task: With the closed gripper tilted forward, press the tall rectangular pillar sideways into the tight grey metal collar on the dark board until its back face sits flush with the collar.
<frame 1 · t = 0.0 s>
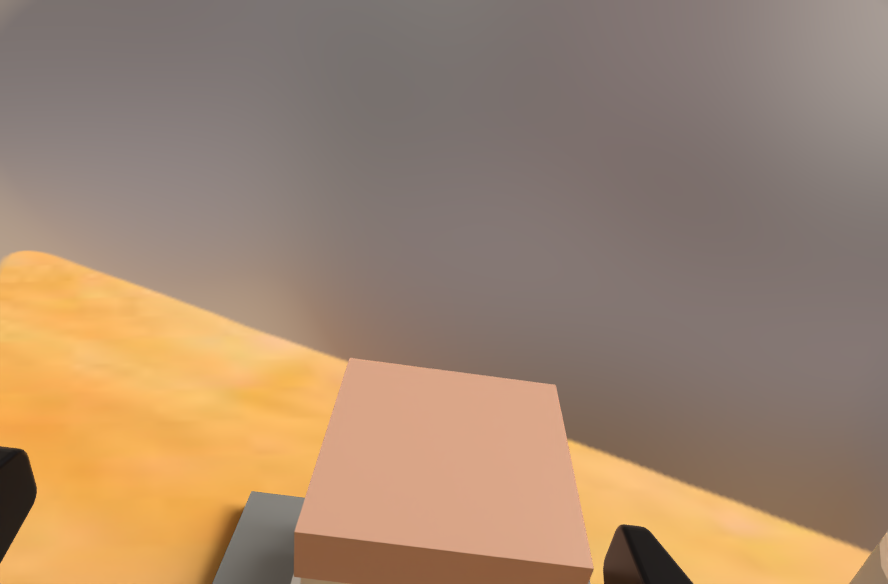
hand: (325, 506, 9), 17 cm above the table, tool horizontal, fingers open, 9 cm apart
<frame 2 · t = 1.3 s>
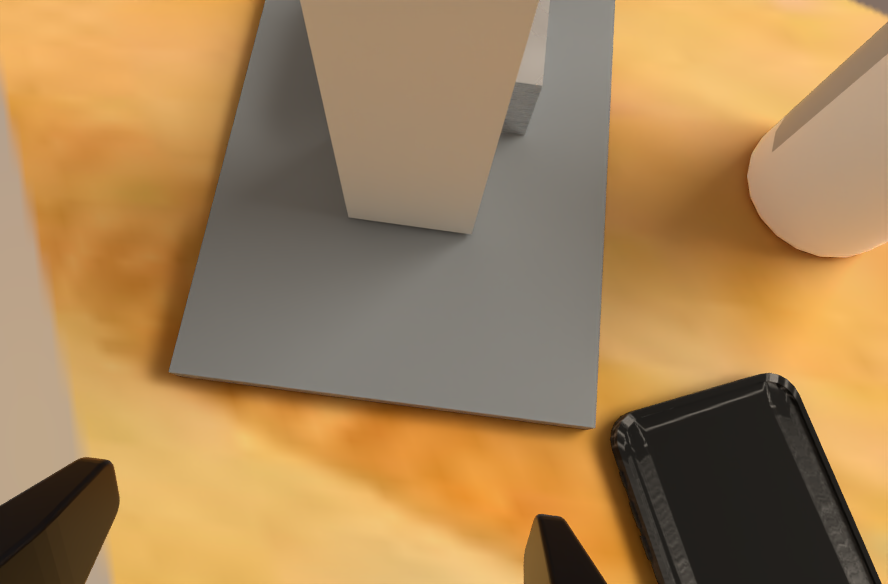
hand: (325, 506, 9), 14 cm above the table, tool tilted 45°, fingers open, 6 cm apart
base board: (419, 173, 26), on the table
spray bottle: (813, 192, 27), on the table
tall rectangular pillar: (423, 59, 18), point 8 cm above the table, slide at 0.0 cm
friction collar: (432, 86, 27), resting on base board
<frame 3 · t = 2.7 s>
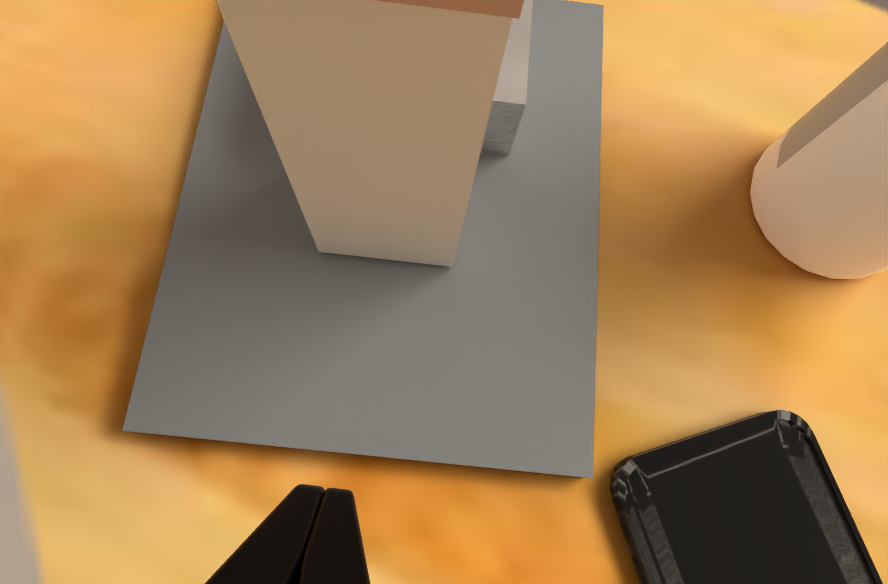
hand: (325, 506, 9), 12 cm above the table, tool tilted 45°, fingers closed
base board: (396, 199, 24), on the table
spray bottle: (821, 208, 25), on the table
tall rectangular pillar: (389, 84, 16), point 8 cm above the table, slide at 0.0 cm
friction collar: (408, 104, 25), resting on base board
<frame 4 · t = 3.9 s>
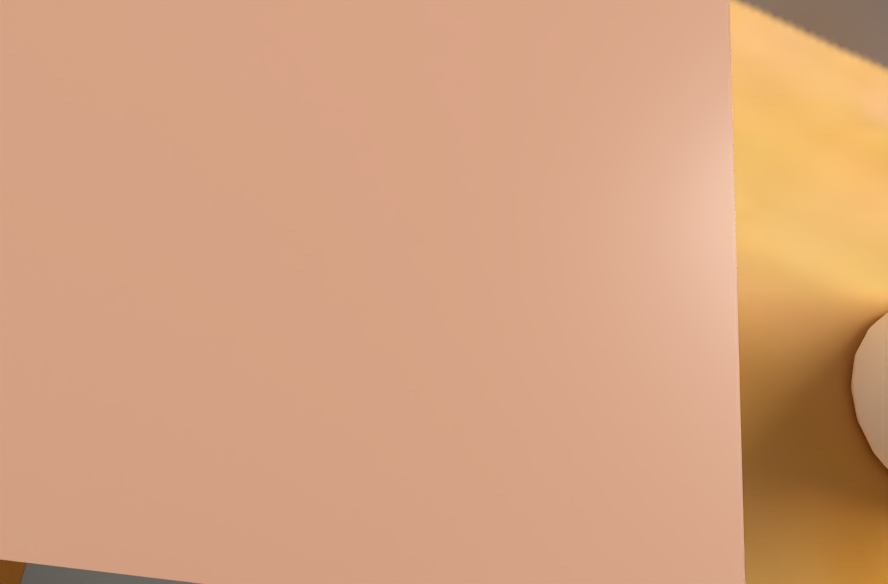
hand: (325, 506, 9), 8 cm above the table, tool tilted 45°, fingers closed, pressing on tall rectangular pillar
base board: (376, 395, 18), on the table
tall rectangular pillar: (354, 329, 10), point 8 cm above the table, slide at 0.6 cm, touching gripper
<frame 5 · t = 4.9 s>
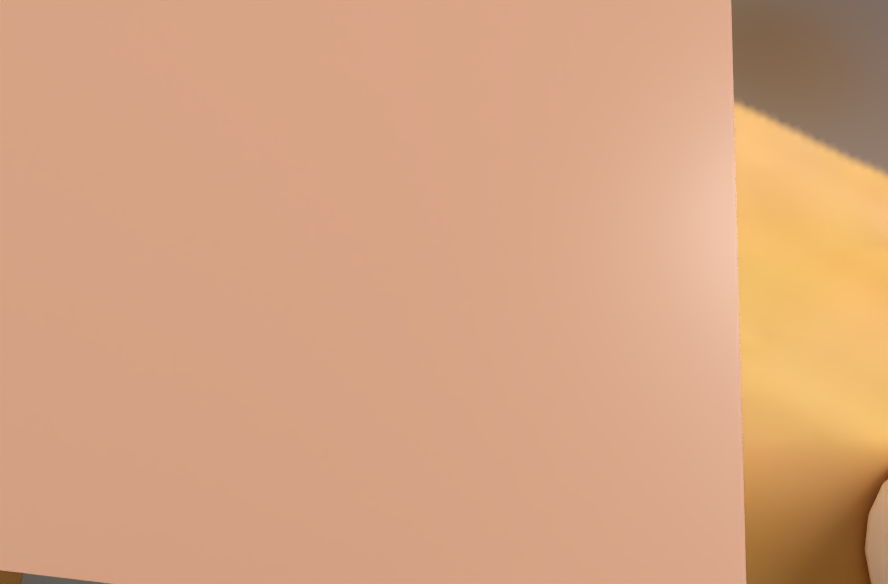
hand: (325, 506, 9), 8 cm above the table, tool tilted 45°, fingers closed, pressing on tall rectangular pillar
base board: (349, 568, 16), on the table
tall rectangular pillar: (354, 330, 10), point 8 cm above the table, slide at 5.4 cm, touching gripper
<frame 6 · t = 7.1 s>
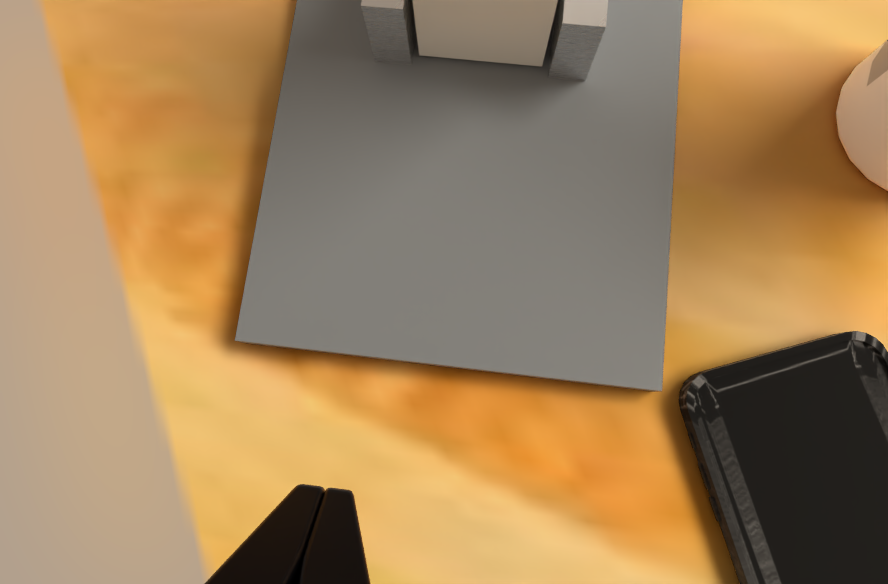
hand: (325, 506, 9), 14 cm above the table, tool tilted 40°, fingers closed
base board: (473, 127, 25), on the table
phone: (831, 550, 22), on the table
friction collar: (484, 31, 25), resting on base board
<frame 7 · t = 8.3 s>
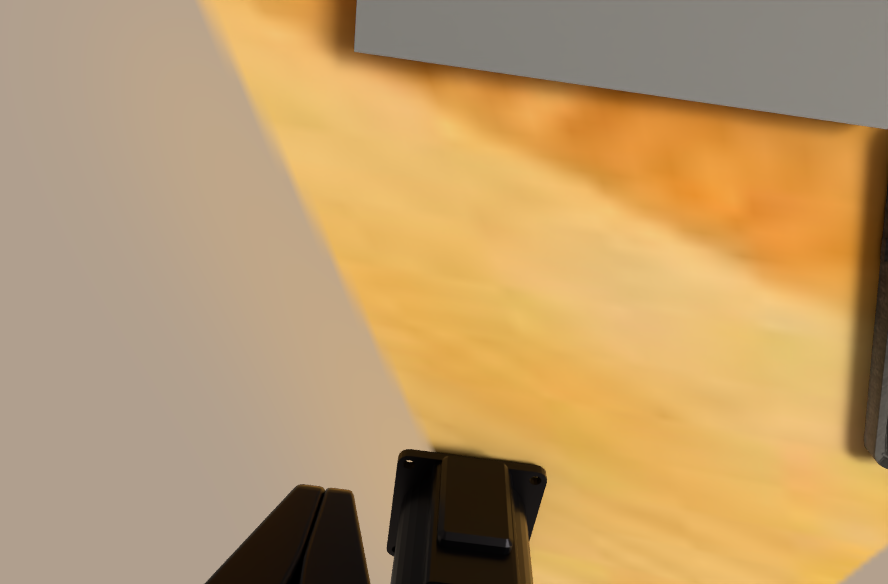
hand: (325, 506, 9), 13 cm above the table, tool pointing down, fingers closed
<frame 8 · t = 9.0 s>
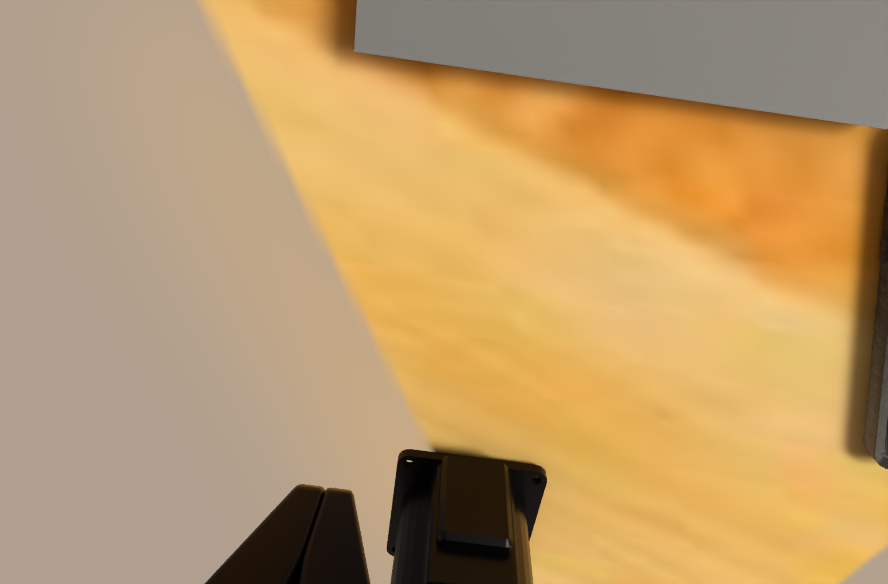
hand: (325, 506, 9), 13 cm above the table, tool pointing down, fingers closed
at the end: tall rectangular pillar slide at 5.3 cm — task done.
